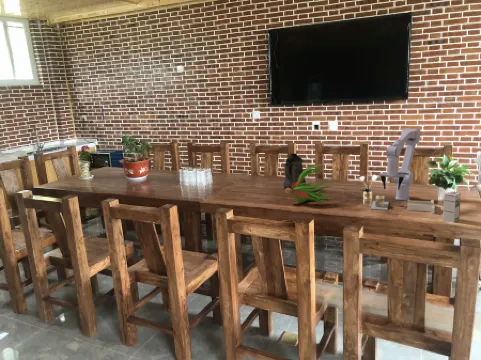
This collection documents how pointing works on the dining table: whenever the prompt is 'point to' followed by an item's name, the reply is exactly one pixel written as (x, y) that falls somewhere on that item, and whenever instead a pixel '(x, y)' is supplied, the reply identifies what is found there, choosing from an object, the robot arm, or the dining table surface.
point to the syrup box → (451, 206)
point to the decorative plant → (307, 187)
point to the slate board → (380, 207)
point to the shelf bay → (421, 206)
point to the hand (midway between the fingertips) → (391, 189)
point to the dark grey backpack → (293, 170)
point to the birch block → (379, 201)
